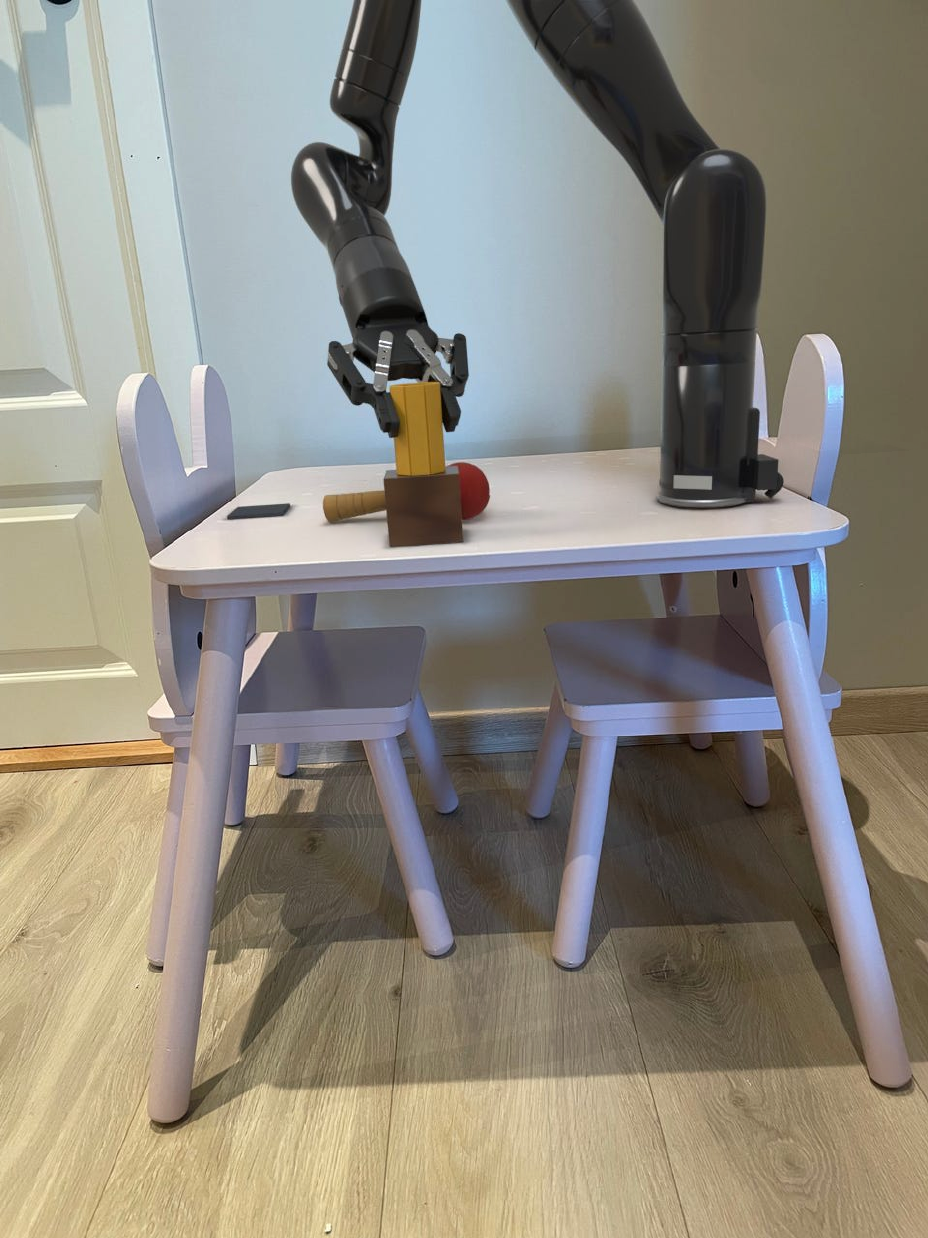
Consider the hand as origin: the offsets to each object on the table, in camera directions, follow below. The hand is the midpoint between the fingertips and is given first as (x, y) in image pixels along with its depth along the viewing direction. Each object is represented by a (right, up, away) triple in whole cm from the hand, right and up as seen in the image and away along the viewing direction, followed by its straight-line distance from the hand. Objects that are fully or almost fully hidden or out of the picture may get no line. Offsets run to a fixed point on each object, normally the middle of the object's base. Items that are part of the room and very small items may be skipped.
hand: (424, 428), depth 75 cm
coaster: (-21, -5, +23) cm, 31 cm away
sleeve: (0, -3, +3) cm, 5 cm away
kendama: (-2, -7, +13) cm, 15 cm away
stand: (0, -10, +5) cm, 11 cm away
